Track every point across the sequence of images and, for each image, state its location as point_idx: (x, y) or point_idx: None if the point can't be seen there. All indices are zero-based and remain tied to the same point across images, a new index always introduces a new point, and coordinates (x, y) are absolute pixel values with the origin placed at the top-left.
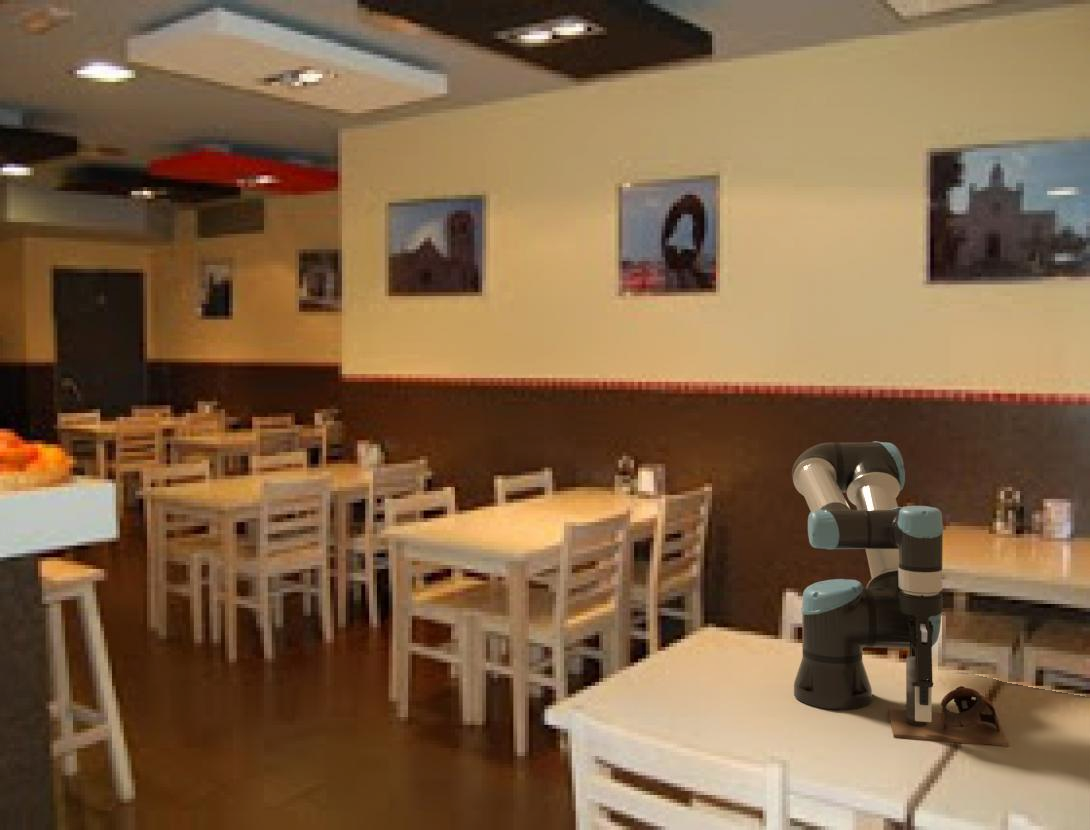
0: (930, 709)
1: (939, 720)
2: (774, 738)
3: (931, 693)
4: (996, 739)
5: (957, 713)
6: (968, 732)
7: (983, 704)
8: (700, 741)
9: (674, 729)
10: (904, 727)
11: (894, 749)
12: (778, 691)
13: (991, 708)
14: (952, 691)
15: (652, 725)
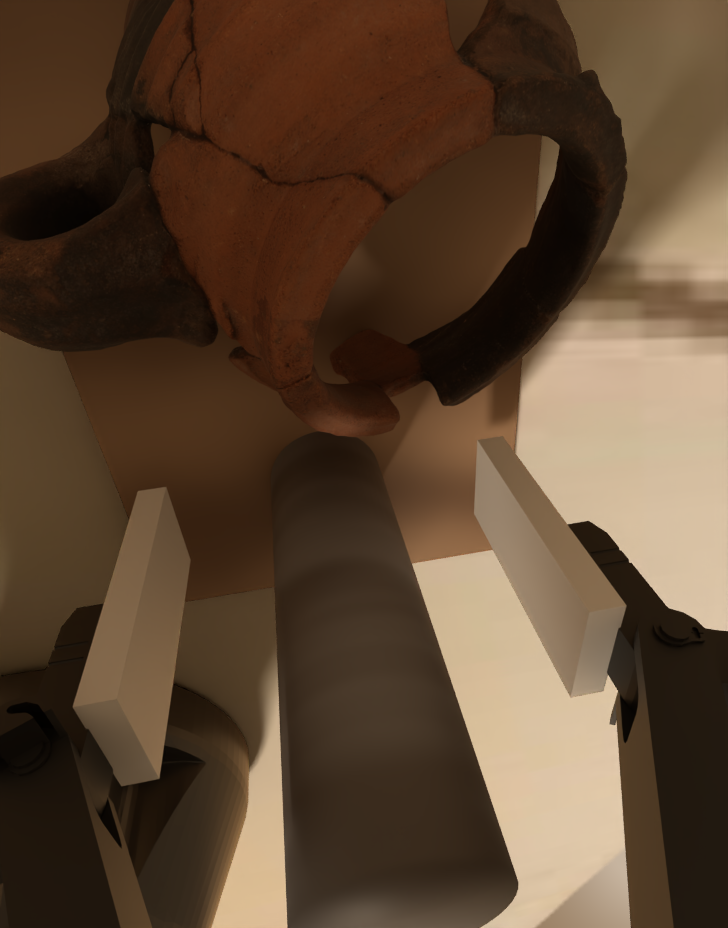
0: (534, 487)
1: (234, 370)
2: (553, 780)
3: (592, 561)
4: None
5: (557, 309)
6: None
7: (526, 52)
8: (589, 857)
9: (523, 900)
10: (410, 519)
11: (622, 518)
12: None
13: None
14: (306, 393)
15: (506, 923)
